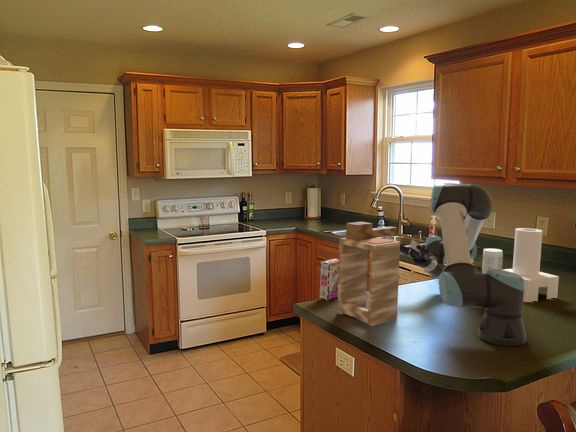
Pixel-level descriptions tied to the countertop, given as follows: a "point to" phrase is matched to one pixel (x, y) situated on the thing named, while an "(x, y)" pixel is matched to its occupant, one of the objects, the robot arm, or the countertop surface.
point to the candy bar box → (329, 279)
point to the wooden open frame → (380, 280)
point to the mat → (377, 241)
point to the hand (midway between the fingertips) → (398, 240)
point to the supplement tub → (492, 259)
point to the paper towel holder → (532, 264)
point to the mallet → (367, 231)
